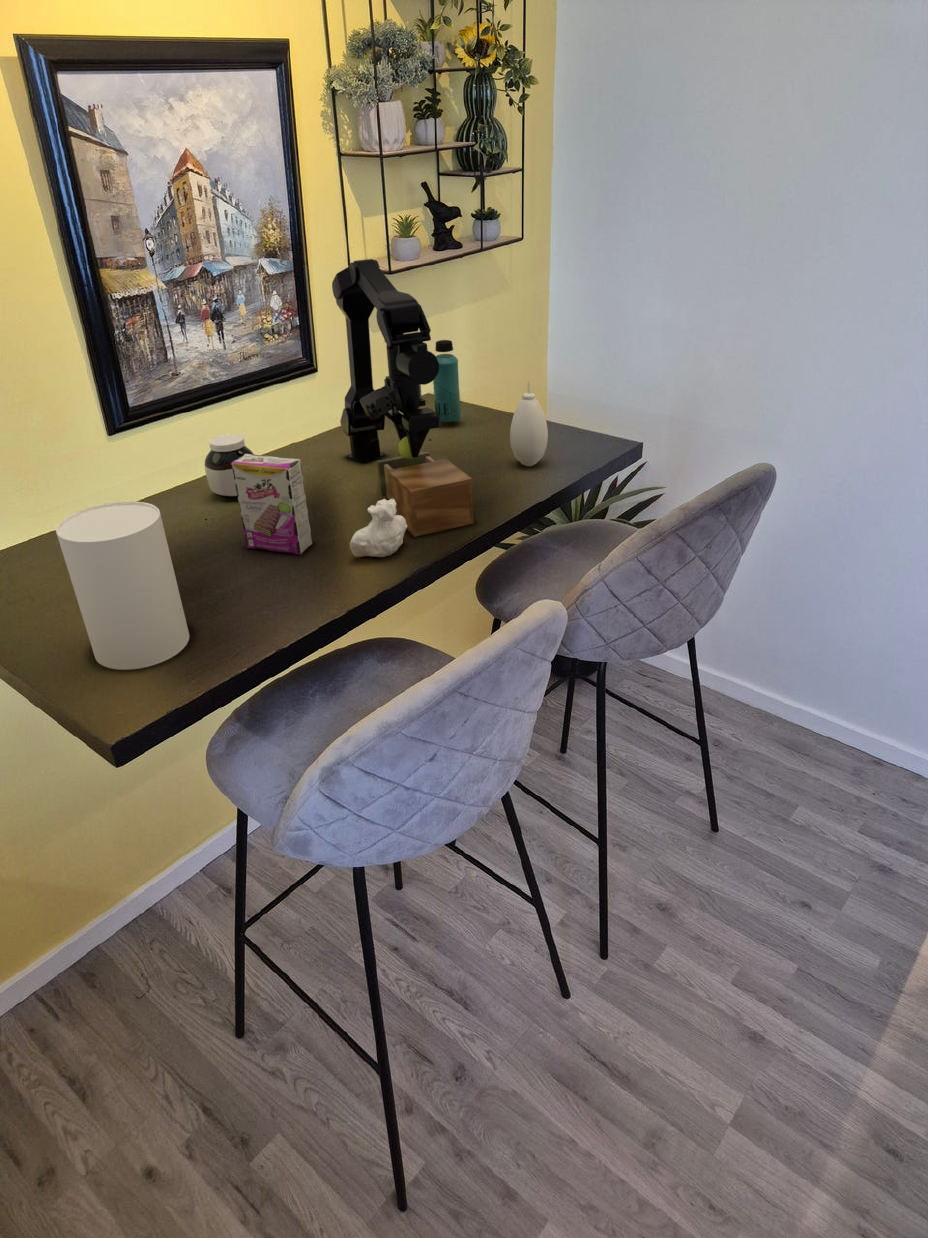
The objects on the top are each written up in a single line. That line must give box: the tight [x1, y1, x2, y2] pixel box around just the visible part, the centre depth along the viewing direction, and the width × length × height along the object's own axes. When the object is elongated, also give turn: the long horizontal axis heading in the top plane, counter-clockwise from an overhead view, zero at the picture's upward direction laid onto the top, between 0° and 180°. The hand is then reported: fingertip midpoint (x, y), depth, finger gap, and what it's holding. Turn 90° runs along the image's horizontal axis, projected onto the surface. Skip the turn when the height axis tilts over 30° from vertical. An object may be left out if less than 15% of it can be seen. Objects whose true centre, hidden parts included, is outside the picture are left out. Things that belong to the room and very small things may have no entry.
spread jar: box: [204, 433, 255, 501], centre depth 177 cm, size 12×11×12 cm
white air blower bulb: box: [509, 380, 549, 467], centre depth 181 cm, size 8×8×18 cm
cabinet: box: [388, 458, 475, 538], centre depth 161 cm, size 12×12×9 cm
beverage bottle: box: [432, 339, 462, 423], centre depth 207 cm, size 6×7×20 cm
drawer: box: [376, 450, 436, 500], centre depth 169 cm, size 12×11×7 cm
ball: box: [397, 436, 422, 459], centre depth 165 cm, size 4×4×4 cm
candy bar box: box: [231, 454, 313, 555], centre depth 151 cm, size 11×5×16 cm, turn 71°
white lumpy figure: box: [349, 498, 407, 558], centre depth 149 cm, size 12×8×11 cm
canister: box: [55, 500, 190, 671], centre depth 123 cm, size 14×14×20 cm
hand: (410, 453), depth 166 cm, fingers closed on ball, 4 cm apart
